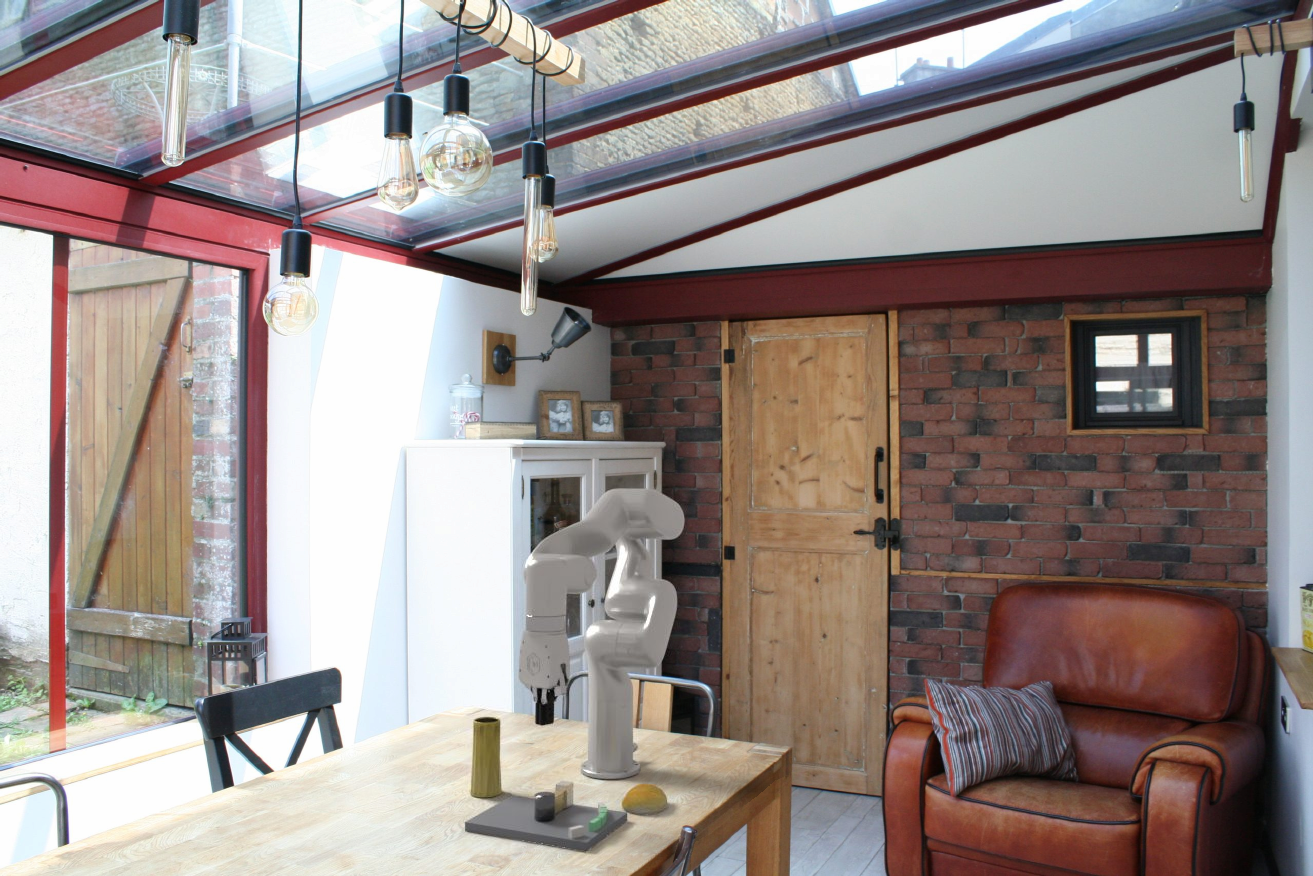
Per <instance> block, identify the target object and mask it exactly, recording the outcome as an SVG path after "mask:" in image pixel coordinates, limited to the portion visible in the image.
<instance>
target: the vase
mask: <svg viewBox="0 0 1313 876" xmlns="http://www.w3.org/2000/svg"><path fill="white" fill-rule="evenodd" d="M472 730H473V737H472V762H471V776H470V777H471V779H470V795H471V796H473V797H475V798H480V799H487V798H493V797H497V796H499V795H501V794H502V792H503V791H502V790H503V789H502V773H501V772H502V770H501V767H502V766H501V718H499V717H497V716H496V717H495V716H483V717H482V716H480V717H477V718H474V719H473V729H472Z"/></svg>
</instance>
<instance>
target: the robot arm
mask: <svg viewBox="0 0 1313 876" xmlns="http://www.w3.org/2000/svg"><path fill="white" fill-rule="evenodd" d="M684 526H685V515H684V511H683V509H682V507H681V506H680V504H679V503H678V502H677V501H675V500H674V499H672V498H671V497H669V496H667V495H665V494H664V493H663V492H662V493H661V492H659V491H658V490H655V489H651V488H624V487H623V488H612V489H609V490H607V491H606V492H604V493H603V494H602V495H601V496H600V497H599V499H598V500H597V501H596V502H595V504H594V505H593V506H592V507H591V509H589V511H588V512H587V513H586V514H585V516H584V517H583V518H582V520H580V521H578V522H574V523H573V524H571V525H569V526H566V527H565V528H563V529H560V530H558V531H556V532H554V533H552V534H550V535H548V536H547V537H545V538H544V539H543V540H541V541H540V542H539V543H538V545H537V546H536V547H535V548H534V549H533V551H532V552H531V553H530V554H529V556H527V557H528V558H527V559H526V562H525V564H524V567H523V580H524V583H525V584H526V585H525V630H523V633H522V636H521V643H520V648H519V659H518V680H519V682H520V683H521V684H522V685H524V687H525V688H526V689H527V690H528V691H530V692H531V693H532V699H533V702H534V703H535V707H534V708H535V711H534V713H535V714H534V715H535V717H534V719H535V722H534V724H535V725H537V726H542V727H543V726H547V725H553V724H554V722H555V703H556V702H557V700H558V697H560V696H564V695H566V694H567V689H566V687H568V685H569V683H570V679H571V677H570V676H571V667H570V666H571V660H570V657H571V656H570V648H569V647H570V646H569V645H570V644H569V639H568V634H567V594H568V595H569V594H571V595H580V594H584V593H586V592H588V591H590V590H591V589H593V587H594V585H595V584H596V581H597V577H598V569H597V566H596V564H595V563H594V561H593V560H592V559H591V558H595V557H596V556H600V555H603V554H606V553H608V552H609V551H610V550H612V548H613V547H614V546H615V549H616V554H617V555H616V563H615V566H614V569H613V572H612V576H611V579H610V582H609V584H608V587H607V588H608V589H607V592H606V594H605V598H604V611H605V613H606V614H607V617H609V618H612V619H601V620H597V621H595V622H593V623H591V624H590V625H589V626H588V627H587V629H586V631H585V633H584V638H583V648H584V653H585V658H586V665H587V674H588V675H587V677H588V679H587V680H588V681H587V682H588V699H587V700H588V702H587V704H588V705H587V709H588V712H587V713H588V715H587V716H588V719H587V720H588V721H587V722H588V723H587V724H588V725H587V735H588V736H587V739H588V740H587V760H586V761H584V762H582V763H581V765H580V772H581V773H582V775H585V776H586V777H589V778H593V779H602V780H617V779H619V780H620V779H625V778H629V777H633V776H636V775H638V773H640V771H641V764H640V763H639V762H638V761H637V760H634V753H635V752H636V751H638V749H639V746H638V744H637V743H636V742H634V686H633V682H632V679H631V676H630V674H629V673H628V671H627V670H626V668H632V669H643V670H644V669H645V670H652V669H655V668H657V667H659V666H660V664H661V663H662V661H663V659H664V657H665V654H666V651H667V648H668V643H669V640H670V637H671V633H672V629H673V625H674V622H675V618H676V615H677V608H678V595H677V594H678V593H677V591H676V590H677V589H676V588H675V586H674V585H673V583H671V582H670V581H668V580H666V579H661V578H652V576H653V573H654V568H655V562H654V559H653V557H652V555H651V553H650V551H649V550H648V548H646V546H645V545H644V543H643V542H642V541H643V539H644V540H674V539H677V538H678V537H679V536H680V535H681V534H682V532H683V530H684Z"/></svg>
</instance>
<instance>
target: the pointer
mask: <svg viewBox="0 0 1313 876" xmlns="http://www.w3.org/2000/svg"><path fill="white" fill-rule="evenodd" d="M534 798H535V805H534V819H535V820H537V821H550V820H553V819H554V818H555V814H556V813H558V812H559V811H561V810H563V809H564V808H568V807H570V806H571V805H573V804H574V781H568V780H567V781H566V780H561V781H559V782H557V783H555V791H554V792H553V791H540V792H537V793H535V794H534Z"/></svg>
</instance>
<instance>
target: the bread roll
mask: <svg viewBox="0 0 1313 876" xmlns="http://www.w3.org/2000/svg"><path fill="white" fill-rule="evenodd" d="M667 805H668V798H667V795H666V794H665V792H664V790H663V789H662V788H660V787H659V786H657V785H656V784H655V785H654V784H651V783H639V784H637V785H635V786H633V787H632V788H631V789H629V790H628V791H627V792H626V794H625V796H624V798H623V800H622V802H621V807H622V809H623V810H624V811H625V810H626V811H625V812H627V811H628V812H627V813H630V812H631V813H630V814H633V813H634V815H639V814H640V815H641V816H645V815H646V814H648V815H653V814H654V815H655V814H658V813H661V812H662V811H665V809H666V807H667Z"/></svg>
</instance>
